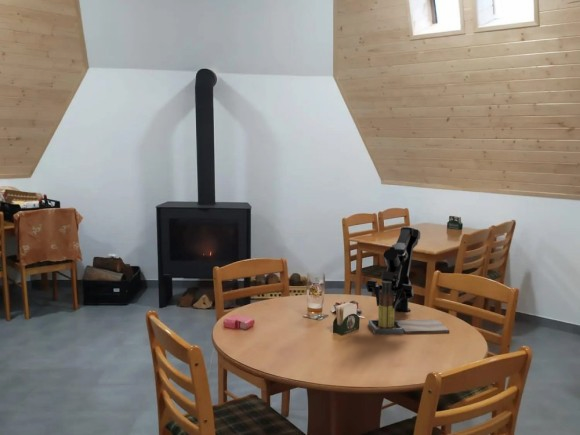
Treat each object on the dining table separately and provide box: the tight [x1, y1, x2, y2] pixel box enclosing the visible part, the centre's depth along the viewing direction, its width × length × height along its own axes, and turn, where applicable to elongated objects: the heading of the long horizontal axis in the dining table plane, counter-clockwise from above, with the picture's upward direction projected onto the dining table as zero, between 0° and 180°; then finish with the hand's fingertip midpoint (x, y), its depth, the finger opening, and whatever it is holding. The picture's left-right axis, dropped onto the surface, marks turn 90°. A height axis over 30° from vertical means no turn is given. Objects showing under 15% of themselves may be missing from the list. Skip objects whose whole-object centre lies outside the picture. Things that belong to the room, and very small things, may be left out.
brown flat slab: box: [395, 318, 450, 335], centre depth 207 cm, size 13×18×1 cm
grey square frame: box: [368, 318, 404, 335], centre depth 205 cm, size 11×11×2 cm
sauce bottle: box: [377, 280, 395, 329], centre depth 204 cm, size 7×6×20 cm
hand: (385, 306), depth 203 cm, fingers closed on sauce bottle, 6 cm apart
